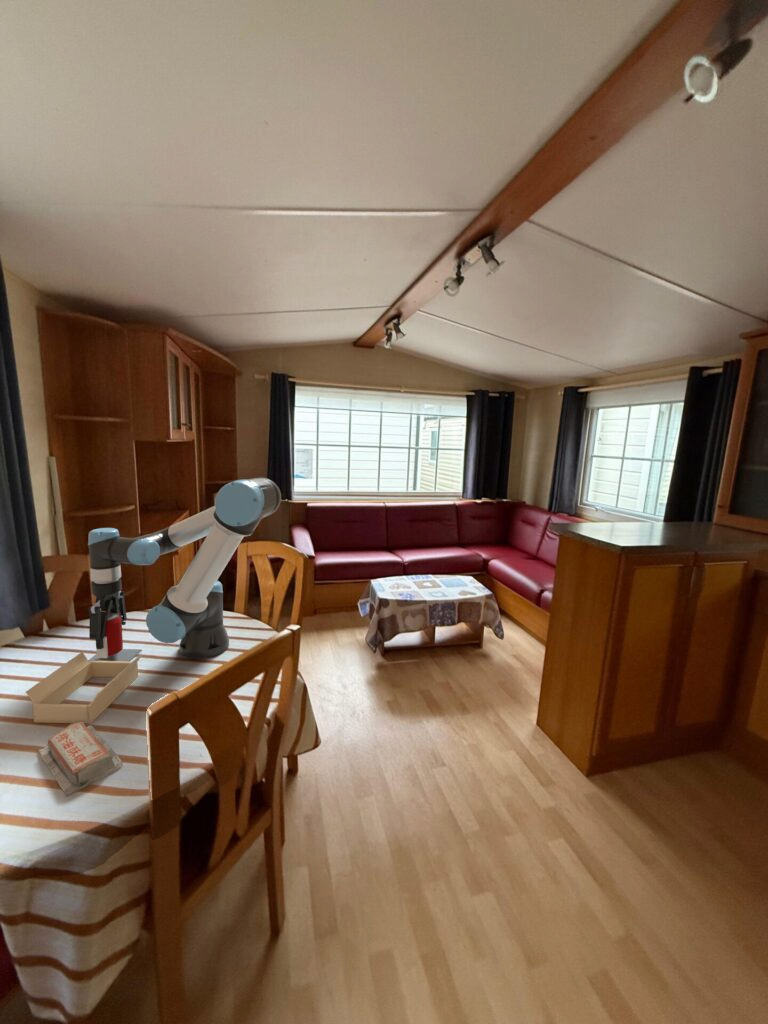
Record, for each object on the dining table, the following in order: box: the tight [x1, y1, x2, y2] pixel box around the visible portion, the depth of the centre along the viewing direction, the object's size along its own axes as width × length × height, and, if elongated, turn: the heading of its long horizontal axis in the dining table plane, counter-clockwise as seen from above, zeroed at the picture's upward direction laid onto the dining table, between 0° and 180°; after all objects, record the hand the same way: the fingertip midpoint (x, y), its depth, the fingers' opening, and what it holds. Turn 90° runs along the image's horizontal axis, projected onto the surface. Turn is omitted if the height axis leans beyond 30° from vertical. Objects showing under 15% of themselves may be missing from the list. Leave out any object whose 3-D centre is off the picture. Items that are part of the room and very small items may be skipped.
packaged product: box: [38, 722, 123, 797], centre depth 87 cm, size 18×5×10 cm
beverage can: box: [105, 613, 124, 656], centre depth 125 cm, size 7×7×12 cm
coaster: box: [88, 648, 143, 662], centre depth 126 cm, size 12×12×1 cm
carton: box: [25, 651, 143, 724], centre depth 107 cm, size 17×21×8 cm
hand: (110, 651), depth 126 cm, fingers closed on beverage can, 7 cm apart
